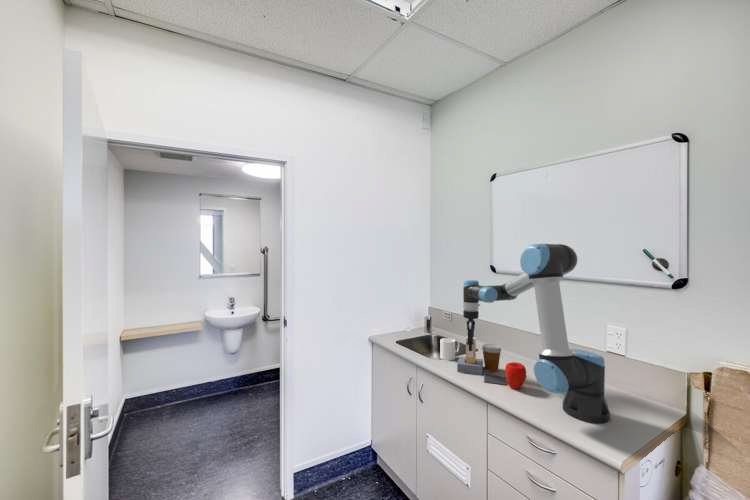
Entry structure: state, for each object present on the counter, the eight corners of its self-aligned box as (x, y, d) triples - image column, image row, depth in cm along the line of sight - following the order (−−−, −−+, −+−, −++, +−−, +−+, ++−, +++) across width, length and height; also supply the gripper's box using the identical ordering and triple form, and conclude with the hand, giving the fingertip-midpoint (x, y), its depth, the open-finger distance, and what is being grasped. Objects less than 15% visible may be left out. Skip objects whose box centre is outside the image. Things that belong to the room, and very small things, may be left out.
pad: (507, 385, 148) (507, 384, 148) (483, 382, 151) (483, 381, 151) (506, 377, 157) (506, 376, 157) (484, 374, 160) (484, 373, 160)
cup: (463, 358, 184) (463, 340, 184) (445, 360, 180) (445, 342, 180) (455, 354, 192) (455, 337, 192) (437, 356, 188) (437, 338, 187)
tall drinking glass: (475, 366, 164) (475, 338, 164) (465, 365, 166) (465, 338, 166) (475, 363, 169) (475, 336, 169) (466, 362, 170) (466, 335, 170)
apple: (524, 393, 140) (524, 368, 140) (503, 388, 144) (503, 364, 144) (527, 386, 147) (527, 362, 147) (507, 381, 152) (507, 358, 152)
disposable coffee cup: (481, 371, 164) (481, 347, 164) (481, 365, 173) (481, 342, 173) (501, 374, 161) (502, 349, 161) (500, 367, 170) (500, 344, 170)
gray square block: (482, 375, 160) (482, 366, 160) (457, 371, 164) (457, 363, 164) (483, 366, 171) (483, 359, 171) (459, 363, 175) (459, 356, 175)
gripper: (477, 313, 158) (477, 361, 158) (479, 307, 174) (479, 351, 174) (461, 312, 160) (461, 359, 160) (464, 306, 177) (464, 349, 177)
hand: (470, 355), depth 167 cm, fingers closed on tall drinking glass, 5 cm apart
